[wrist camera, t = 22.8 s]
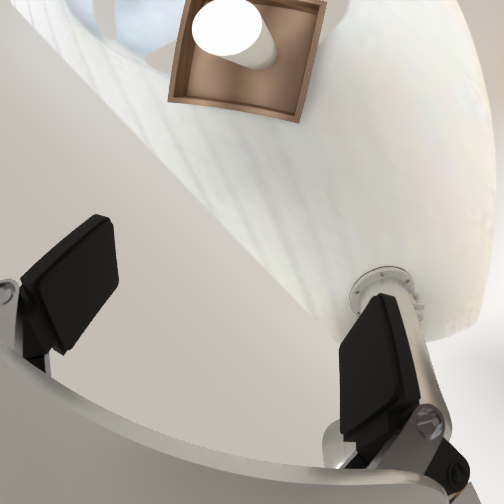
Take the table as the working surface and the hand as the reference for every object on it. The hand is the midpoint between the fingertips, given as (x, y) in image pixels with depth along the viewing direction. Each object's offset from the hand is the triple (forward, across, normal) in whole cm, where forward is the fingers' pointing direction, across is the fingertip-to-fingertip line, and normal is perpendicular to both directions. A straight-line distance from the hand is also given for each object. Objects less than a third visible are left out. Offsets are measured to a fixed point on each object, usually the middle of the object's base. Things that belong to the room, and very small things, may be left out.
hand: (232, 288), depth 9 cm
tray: (+30, +6, -11) cm, 32 cm away
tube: (+25, +5, -10) cm, 28 cm away
